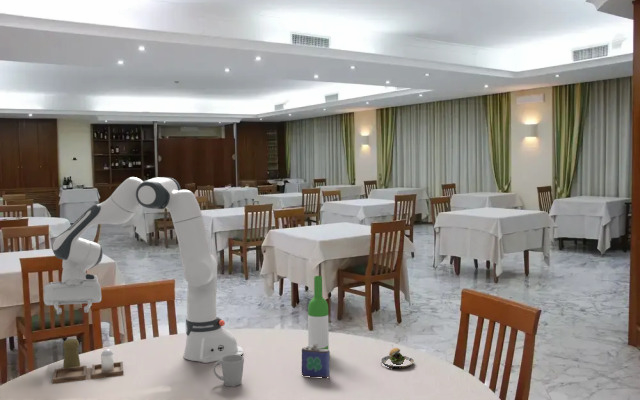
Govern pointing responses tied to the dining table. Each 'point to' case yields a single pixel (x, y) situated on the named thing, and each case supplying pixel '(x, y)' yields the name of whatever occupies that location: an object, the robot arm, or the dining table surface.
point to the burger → (396, 358)
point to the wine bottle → (318, 318)
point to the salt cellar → (107, 361)
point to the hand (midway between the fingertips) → (72, 312)
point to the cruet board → (85, 373)
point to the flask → (315, 362)
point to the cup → (231, 369)
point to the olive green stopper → (71, 353)
